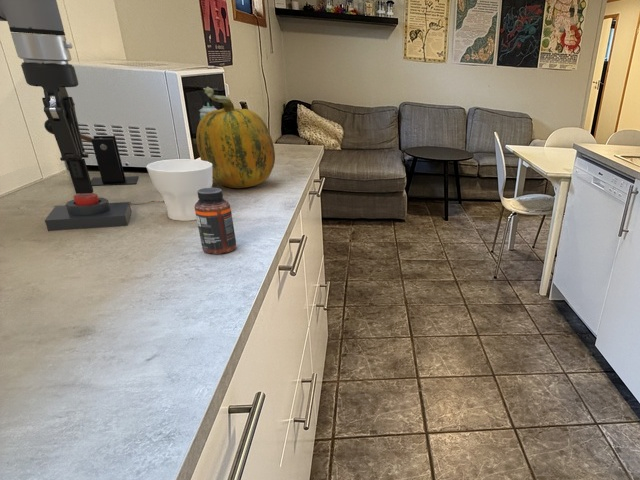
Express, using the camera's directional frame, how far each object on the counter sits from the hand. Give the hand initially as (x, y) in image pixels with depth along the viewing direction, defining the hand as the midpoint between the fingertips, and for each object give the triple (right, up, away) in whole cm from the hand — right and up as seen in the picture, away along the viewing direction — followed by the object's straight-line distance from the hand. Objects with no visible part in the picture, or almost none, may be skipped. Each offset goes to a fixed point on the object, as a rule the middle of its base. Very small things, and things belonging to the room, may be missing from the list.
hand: (84, 192), depth 95 cm
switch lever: (-17, +17, +19) cm, 31 cm away
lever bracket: (-13, +8, +27) cm, 31 cm away
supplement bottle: (+30, -12, -6) cm, 33 cm away
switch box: (-1, -5, +3) cm, 6 cm away
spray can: (+6, +15, +44) cm, 47 cm away
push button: (0, -2, +1) cm, 2 cm away
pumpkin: (+16, +10, +35) cm, 40 cm away
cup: (+16, -3, +10) cm, 19 cm away
